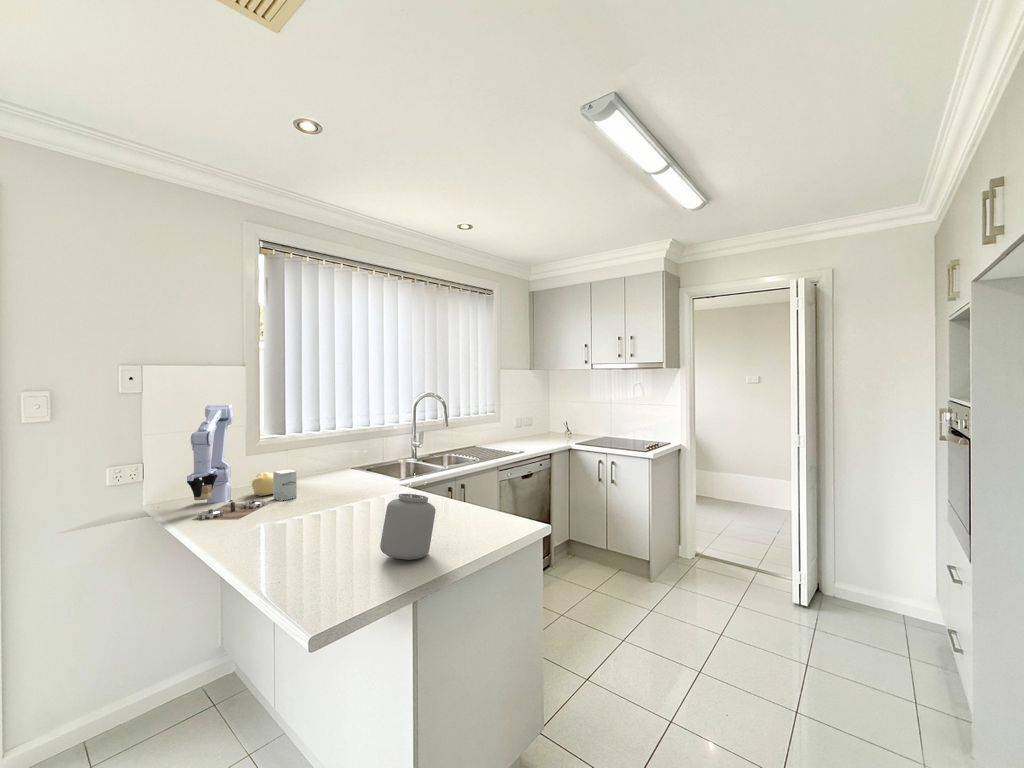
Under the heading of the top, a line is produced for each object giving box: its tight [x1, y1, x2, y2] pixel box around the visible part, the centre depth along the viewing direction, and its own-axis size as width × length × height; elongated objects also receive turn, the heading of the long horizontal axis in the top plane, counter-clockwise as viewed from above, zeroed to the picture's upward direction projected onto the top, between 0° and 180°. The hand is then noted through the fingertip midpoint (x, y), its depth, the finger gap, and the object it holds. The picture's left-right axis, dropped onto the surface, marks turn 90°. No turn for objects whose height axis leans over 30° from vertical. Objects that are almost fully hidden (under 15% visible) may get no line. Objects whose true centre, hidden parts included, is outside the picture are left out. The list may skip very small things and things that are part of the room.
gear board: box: [191, 501, 271, 521], centre depth 179 cm, size 22×18×5 cm
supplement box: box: [272, 469, 298, 502], centre depth 203 cm, size 7×7×13 cm
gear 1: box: [197, 508, 224, 521], centre depth 172 cm, size 8×8×2 cm
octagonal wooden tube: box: [193, 484, 212, 501], centre depth 178 cm, size 6×6×5 cm
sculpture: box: [251, 471, 274, 497], centre depth 211 cm, size 11×12×11 cm
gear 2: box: [241, 499, 266, 509], centre depth 185 cm, size 8×8×3 cm
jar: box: [379, 472, 437, 561], centre depth 135 cm, size 19×15×25 cm
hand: (202, 494), depth 178 cm, fingers closed on octagonal wooden tube, 6 cm apart
